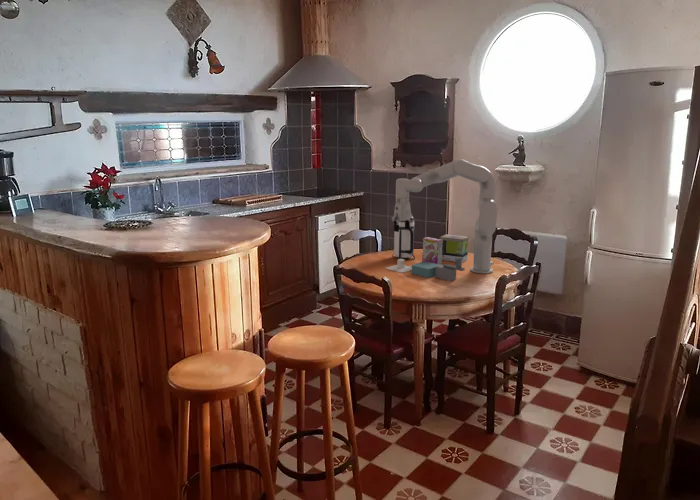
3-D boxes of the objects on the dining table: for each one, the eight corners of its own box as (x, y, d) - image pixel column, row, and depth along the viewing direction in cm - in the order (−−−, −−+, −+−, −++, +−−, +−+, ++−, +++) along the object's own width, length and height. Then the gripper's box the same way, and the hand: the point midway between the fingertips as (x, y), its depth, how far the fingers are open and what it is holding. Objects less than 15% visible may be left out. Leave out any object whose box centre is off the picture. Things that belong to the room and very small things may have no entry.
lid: (399, 265, 328) (399, 255, 326) (416, 269, 319) (416, 259, 317) (385, 269, 319) (385, 259, 317) (402, 274, 310) (402, 263, 308)
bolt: (447, 265, 301) (447, 254, 299) (465, 269, 292) (466, 258, 291) (441, 267, 297) (442, 255, 296) (460, 271, 289) (461, 259, 287)
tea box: (467, 259, 339) (469, 236, 336) (461, 263, 331) (462, 239, 327) (445, 256, 347) (446, 233, 343) (438, 259, 339) (439, 236, 335)
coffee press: (386, 259, 339) (387, 211, 332) (398, 254, 352) (399, 208, 345) (411, 263, 330) (413, 214, 323) (422, 257, 343) (424, 210, 336)
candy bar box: (421, 264, 327) (422, 238, 323) (426, 263, 330) (427, 236, 327) (437, 268, 320) (438, 240, 316) (442, 266, 323) (443, 239, 319)
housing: (424, 269, 317) (424, 259, 315) (459, 277, 300) (460, 267, 299) (411, 273, 308) (411, 263, 307) (446, 282, 292) (447, 271, 291)
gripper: (397, 202, 301) (397, 233, 305) (417, 199, 313) (416, 228, 317) (387, 201, 306) (387, 231, 310) (406, 198, 318) (406, 227, 322)
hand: (401, 230), depth 313 cm, fingers open, 9 cm apart
